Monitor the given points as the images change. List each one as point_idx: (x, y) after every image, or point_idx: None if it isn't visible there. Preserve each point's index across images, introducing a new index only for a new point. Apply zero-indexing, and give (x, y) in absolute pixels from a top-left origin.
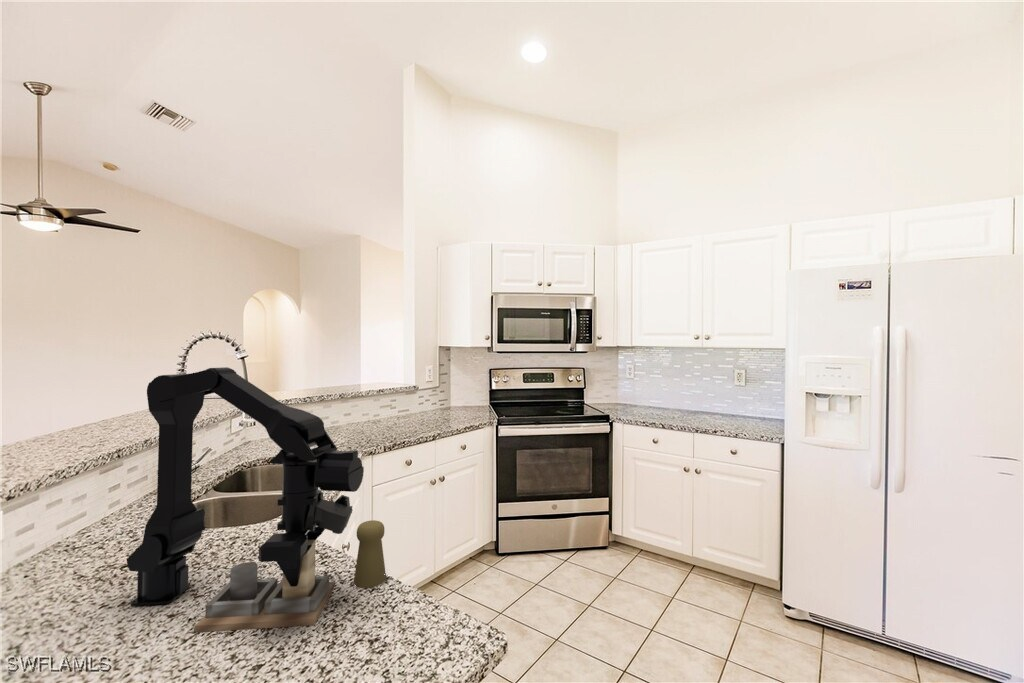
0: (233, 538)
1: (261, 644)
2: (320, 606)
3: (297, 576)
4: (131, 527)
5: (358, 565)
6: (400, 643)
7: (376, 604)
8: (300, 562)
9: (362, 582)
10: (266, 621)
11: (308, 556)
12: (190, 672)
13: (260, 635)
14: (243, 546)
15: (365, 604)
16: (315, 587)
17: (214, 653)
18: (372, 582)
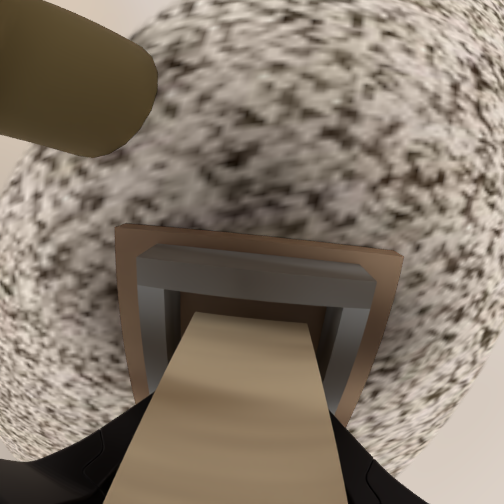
0: (7, 431)
1: (423, 364)
2: (324, 251)
3: (347, 431)
4: None
5: (77, 118)
6: (481, 31)
7: (298, 39)
8: (397, 488)
9: (140, 103)
10: (360, 394)
11: (328, 494)
12: (437, 429)
13: (384, 382)
14: (15, 426)
15: (291, 75)
16: (176, 301)
17: (405, 428)
18: (148, 65)
